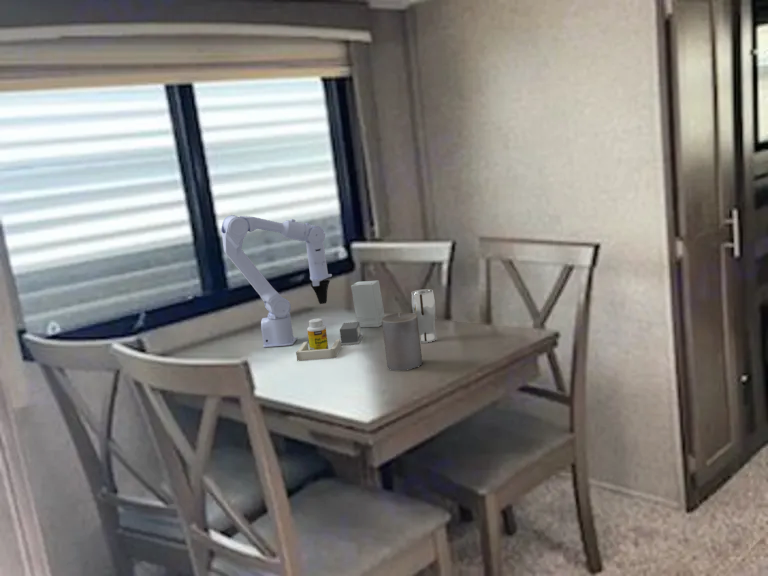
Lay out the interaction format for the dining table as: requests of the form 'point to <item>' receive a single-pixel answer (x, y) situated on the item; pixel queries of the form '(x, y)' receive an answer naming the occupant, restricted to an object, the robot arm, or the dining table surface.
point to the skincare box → (368, 303)
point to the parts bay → (318, 352)
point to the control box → (350, 334)
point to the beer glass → (424, 314)
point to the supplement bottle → (317, 335)
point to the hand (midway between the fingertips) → (323, 303)
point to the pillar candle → (402, 341)
